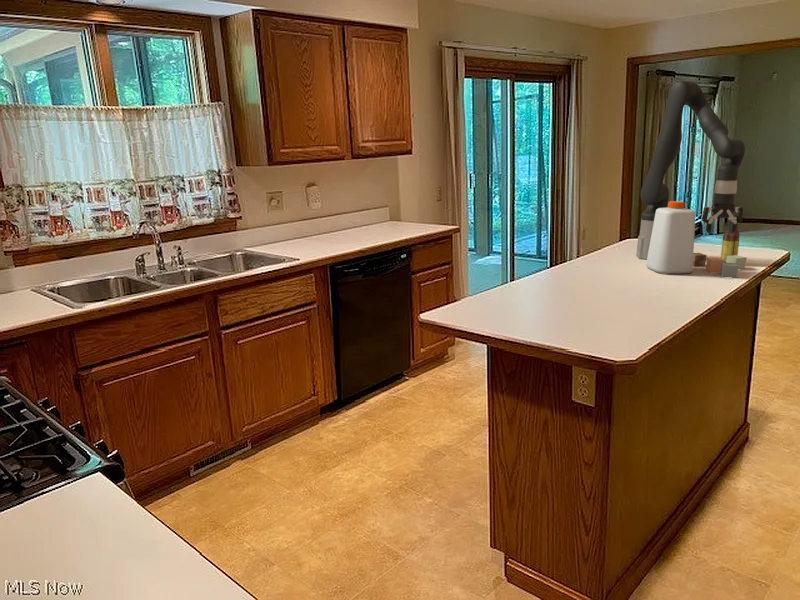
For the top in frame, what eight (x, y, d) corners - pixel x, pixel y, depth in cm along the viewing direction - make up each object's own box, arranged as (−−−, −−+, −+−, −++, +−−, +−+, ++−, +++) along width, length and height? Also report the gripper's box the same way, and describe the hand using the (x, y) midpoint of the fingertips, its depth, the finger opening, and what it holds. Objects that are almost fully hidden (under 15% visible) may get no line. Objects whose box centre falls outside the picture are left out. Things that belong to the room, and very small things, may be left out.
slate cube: (721, 277, 230) (723, 264, 228) (719, 274, 234) (721, 262, 233) (736, 278, 228) (738, 265, 227) (733, 275, 233) (735, 263, 231)
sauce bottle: (732, 262, 255) (739, 216, 249) (739, 265, 249) (746, 218, 243) (716, 262, 255) (723, 216, 250) (722, 265, 249) (729, 218, 244)
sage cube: (734, 270, 241) (736, 258, 240) (725, 267, 246) (726, 255, 245) (744, 269, 243) (746, 257, 241) (734, 266, 247) (736, 255, 246)
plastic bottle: (696, 274, 235) (705, 203, 227) (659, 275, 234) (667, 204, 226) (676, 265, 250) (684, 199, 242) (642, 266, 249) (649, 200, 241)
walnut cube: (693, 267, 248) (695, 255, 246) (687, 264, 252) (688, 253, 251) (705, 266, 248) (706, 255, 247) (698, 264, 253) (699, 252, 251)
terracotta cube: (709, 272, 238) (711, 260, 237) (705, 269, 243) (707, 257, 242) (723, 272, 237) (724, 260, 236) (718, 269, 242) (720, 258, 241)
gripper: (740, 191, 234) (735, 231, 238) (702, 191, 236) (697, 231, 240) (748, 192, 227) (742, 234, 231) (709, 192, 229) (704, 234, 233)
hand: (719, 232), depth 236 cm, fingers open, 8 cm apart
